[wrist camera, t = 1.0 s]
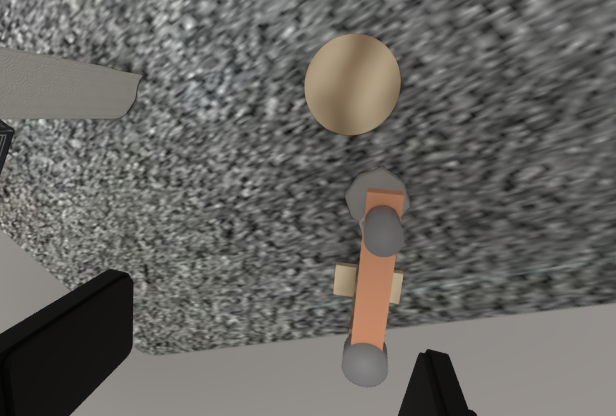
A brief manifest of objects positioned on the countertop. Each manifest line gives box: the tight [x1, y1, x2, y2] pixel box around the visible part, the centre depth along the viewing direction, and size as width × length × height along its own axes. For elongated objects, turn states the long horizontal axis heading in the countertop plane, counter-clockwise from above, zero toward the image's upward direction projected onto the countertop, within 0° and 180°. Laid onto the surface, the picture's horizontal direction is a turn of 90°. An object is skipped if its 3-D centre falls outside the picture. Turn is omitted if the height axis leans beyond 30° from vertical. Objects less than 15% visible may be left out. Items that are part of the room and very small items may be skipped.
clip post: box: [333, 262, 403, 340], centre depth 34 cm, size 8×4×13 cm, turn 87°
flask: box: [344, 167, 411, 235], centre depth 33 cm, size 7×7×10 cm
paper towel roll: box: [0, 46, 143, 119], centre depth 30 cm, size 7×6×21 cm
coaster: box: [305, 34, 401, 135], centre depth 34 cm, size 10×10×1 cm
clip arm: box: [342, 188, 404, 387], centre depth 23 cm, size 4×16×5 cm, turn 177°
